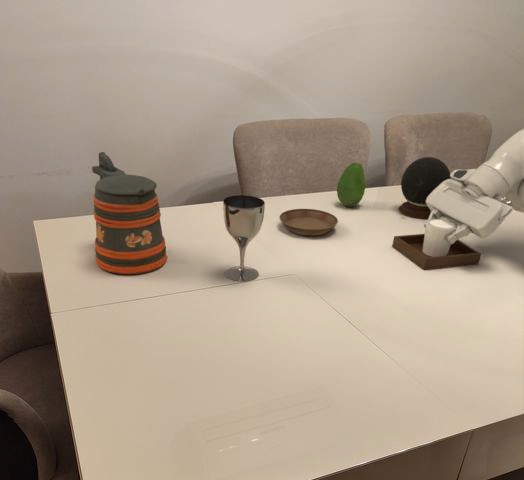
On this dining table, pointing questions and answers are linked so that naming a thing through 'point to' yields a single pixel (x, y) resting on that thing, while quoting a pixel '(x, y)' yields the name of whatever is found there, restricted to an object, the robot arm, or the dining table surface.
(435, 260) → the tray
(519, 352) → the dining table surface
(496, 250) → the dining table surface
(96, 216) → the beer stein
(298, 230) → the saucer
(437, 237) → the white cup
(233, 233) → the wine glass
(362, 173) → the avocado
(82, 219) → the dining table surface
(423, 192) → the black ball on stand
